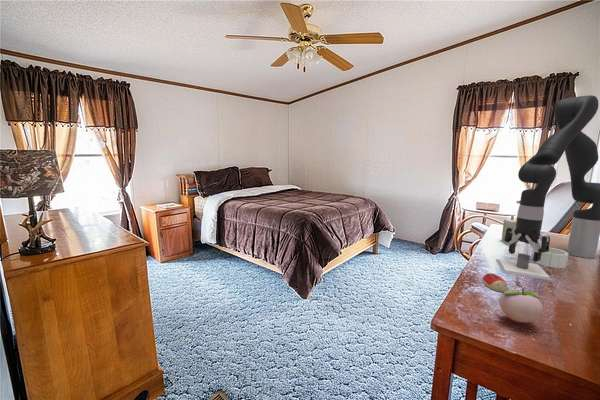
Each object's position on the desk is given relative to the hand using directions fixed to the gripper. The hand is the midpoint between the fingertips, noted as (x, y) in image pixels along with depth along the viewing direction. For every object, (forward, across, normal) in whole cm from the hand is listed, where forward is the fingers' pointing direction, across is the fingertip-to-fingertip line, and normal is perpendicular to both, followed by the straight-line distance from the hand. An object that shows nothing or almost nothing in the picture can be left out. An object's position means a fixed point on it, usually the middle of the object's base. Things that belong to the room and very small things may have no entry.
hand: (523, 257), depth 106 cm
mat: (+6, 0, 0) cm, 6 cm away
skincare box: (+5, +25, -29) cm, 39 cm away
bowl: (+5, +1, -18) cm, 19 cm away
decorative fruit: (+6, -23, +37) cm, 44 cm away
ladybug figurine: (+6, -6, +22) cm, 24 cm away
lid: (+5, 0, 0) cm, 5 cm away
